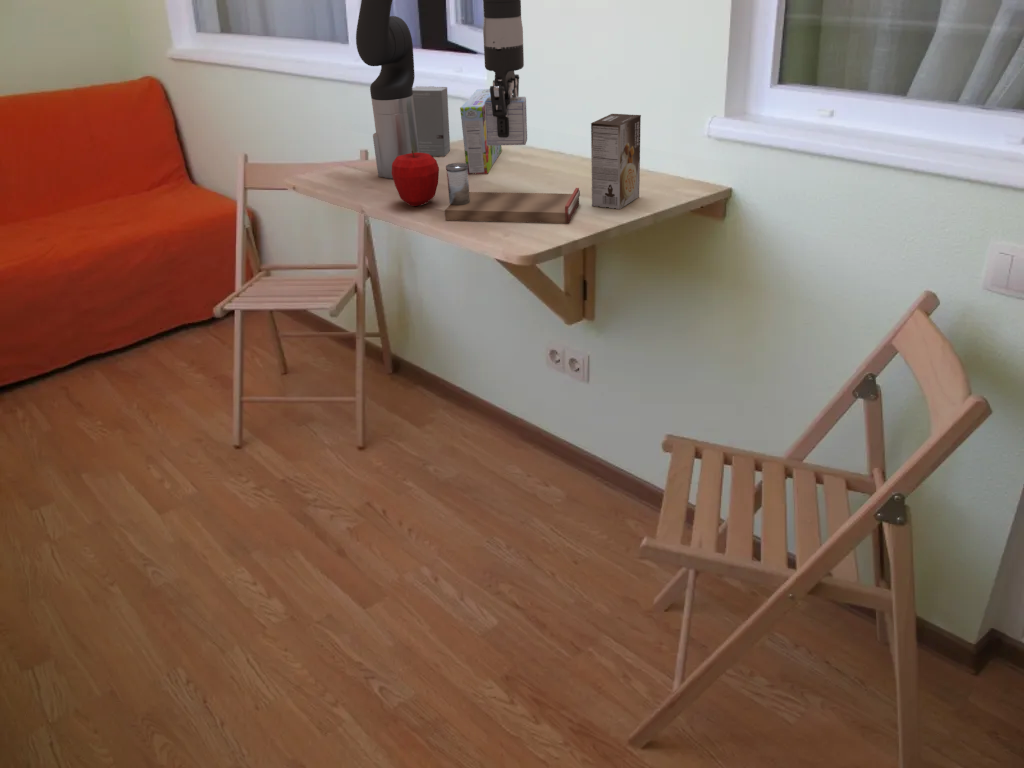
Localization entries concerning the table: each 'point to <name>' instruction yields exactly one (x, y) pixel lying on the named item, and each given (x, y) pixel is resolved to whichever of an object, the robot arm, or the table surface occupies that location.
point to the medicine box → (515, 123)
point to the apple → (415, 177)
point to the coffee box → (615, 160)
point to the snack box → (477, 134)
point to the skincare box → (432, 119)
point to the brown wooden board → (516, 207)
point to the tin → (458, 183)
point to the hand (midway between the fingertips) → (506, 133)
